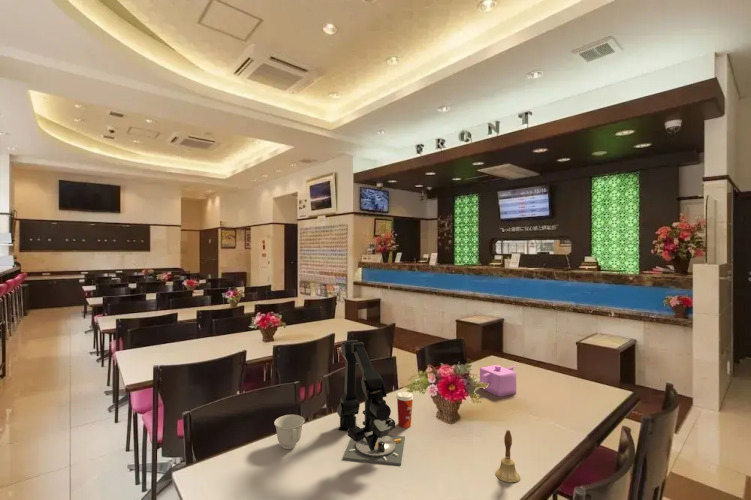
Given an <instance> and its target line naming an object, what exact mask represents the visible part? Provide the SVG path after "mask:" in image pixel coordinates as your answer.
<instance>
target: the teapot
mask: <svg viewBox="0 0 751 500" xmlns="http://www.w3.org/2000/svg"><path fill="white" fill-rule="evenodd" d="M515 367H516V366H515V365H512V366H509V368H507V367H503V366H502V365H499V364H494V365H489V366H484V367H479V383H480V382H483V383H489V385H488V387H487V388H485V389H482V390H484V391H485V392H488V393H490V394H492V395H494V396H496V397H498V398H502V397H505V396H509V395H510V396H511V395H513V394H514V395H515V394H517V372H516V371H514V369H515Z"/></svg>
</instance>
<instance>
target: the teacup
mask: <svg viewBox="0 0 751 500" xmlns="http://www.w3.org/2000/svg"><path fill="white" fill-rule="evenodd" d="M273 423H274V424H273V425H274V426H275V429H276V430H275V431H276V438H277V442H278V444H280V445H281V448H282V449H284V450H292V449H294V448H296V447H297V443H299V441H300V440H301V437H302V430H303V425H304V423H305V418H304V417H303V416H302V415H298V414H285V415H282V416H279V417H278V418H276V419H275V420H274V422H273Z"/></svg>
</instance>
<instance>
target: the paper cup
mask: <svg viewBox="0 0 751 500" xmlns="http://www.w3.org/2000/svg"><path fill="white" fill-rule="evenodd" d="M396 400H397V401H396V403H397V404H396V405H397V420H398V422H397V423H398V426H399V427H400V428H403V429H407V428H410V427H411V426H412V415H413V414H412V413H413V400H414V396H413V393H412V392H409V391H400V392H398V393H397V395H396Z"/></svg>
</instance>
